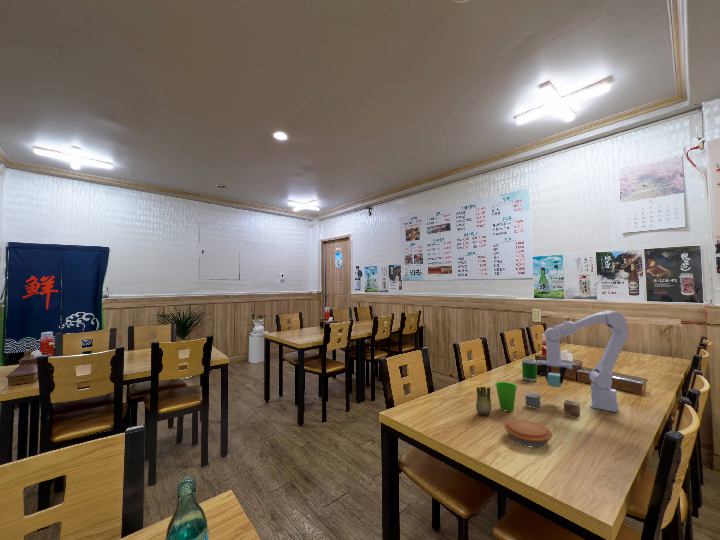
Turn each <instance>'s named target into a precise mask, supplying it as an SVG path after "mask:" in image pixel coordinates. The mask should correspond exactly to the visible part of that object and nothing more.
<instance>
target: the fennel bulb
mask: <svg viewBox="0 0 720 540" xmlns="http://www.w3.org/2000/svg"><path fill="white" fill-rule="evenodd" d="M475 389H476V402H475V408H476V409H475V410H476V412H477V413H478V414H479V415H480V414H482V415H481V416H485V415H487V416H489V415H491V412H492V411H491V410H492V400H491V387H488V386H476V388H475Z"/></svg>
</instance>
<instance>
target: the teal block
mask: <svg viewBox="0 0 720 540" xmlns="http://www.w3.org/2000/svg"><path fill="white" fill-rule="evenodd" d="M546 382H547V386H549V387H555V388H561V387H562V386H563V383H562V384H560V373H557V372H556V373H555V372H549V373H548V374H547V380H546Z"/></svg>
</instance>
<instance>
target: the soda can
mask: <svg viewBox="0 0 720 540" xmlns="http://www.w3.org/2000/svg"><path fill="white" fill-rule="evenodd" d="M536 361H537V360H535V358H527V357H526V358H522V360H521V367H522V369H521V370H522V379H523V380H524V379H525V380H524V381H526V380H529V381H528V382H536V381H537V380H538V369H537V366H538V365H537V363H536ZM535 380H536V381H535Z"/></svg>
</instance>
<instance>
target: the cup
mask: <svg viewBox="0 0 720 540" xmlns="http://www.w3.org/2000/svg"><path fill="white" fill-rule="evenodd" d="M494 385H495V387H496V392H497V396H498V398H497V399H498V401H499V402H498V403H499V407H500V408H499V409H500V410H501V409H503V410H507V411H512V410H513V411H514V409H515V408H514V407H515V400H516V399H515V398H516V393H517V392H516V391H517V388H518V386H517V384H516V383H512V382H508V381H498V382H495V384H494ZM503 410H502V411H503ZM513 411H512V412H513Z"/></svg>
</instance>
